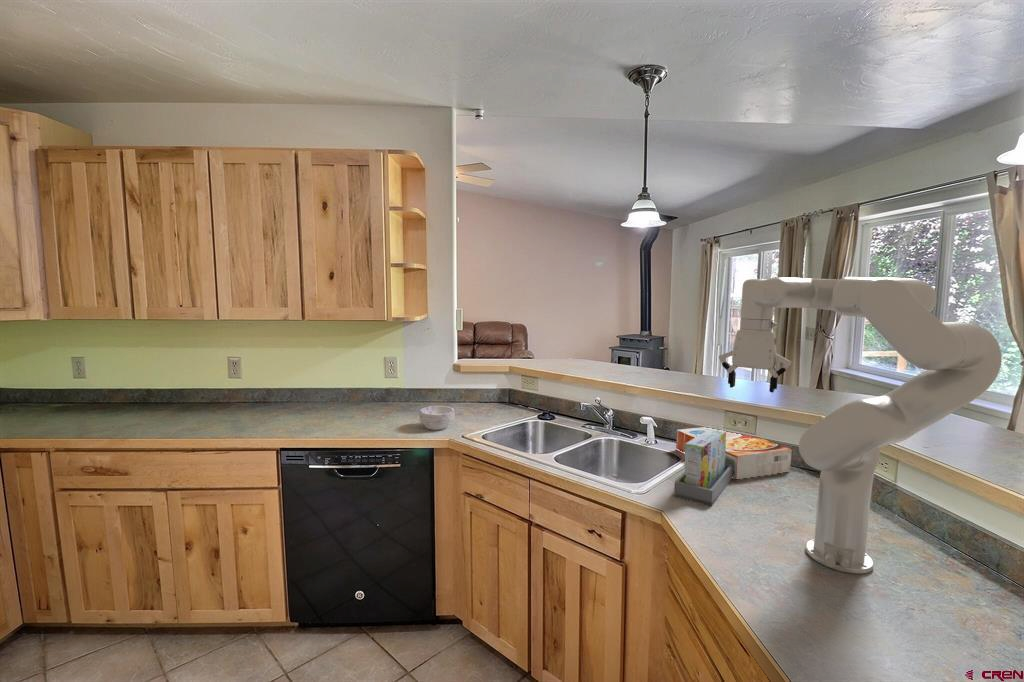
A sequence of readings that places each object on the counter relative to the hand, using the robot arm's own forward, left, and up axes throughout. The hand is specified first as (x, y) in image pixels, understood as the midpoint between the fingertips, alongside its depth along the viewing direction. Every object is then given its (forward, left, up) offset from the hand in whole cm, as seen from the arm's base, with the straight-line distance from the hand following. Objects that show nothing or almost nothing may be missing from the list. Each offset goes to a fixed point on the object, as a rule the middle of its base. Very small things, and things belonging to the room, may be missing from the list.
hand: (751, 389), depth 125 cm
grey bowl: (+2, +124, -35) cm, 129 cm away
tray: (+10, +13, -34) cm, 38 cm away
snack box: (+10, +13, -34) cm, 37 cm away
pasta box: (+31, 0, -30) cm, 44 cm away
